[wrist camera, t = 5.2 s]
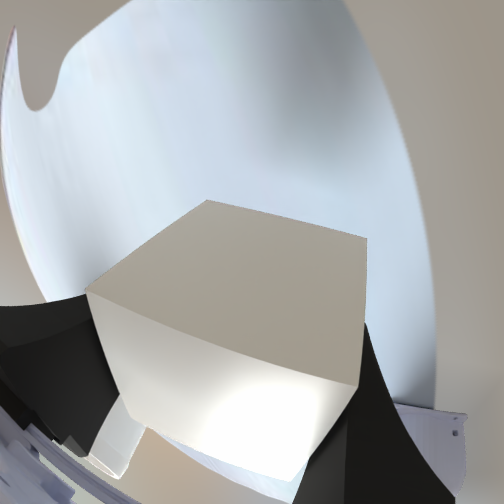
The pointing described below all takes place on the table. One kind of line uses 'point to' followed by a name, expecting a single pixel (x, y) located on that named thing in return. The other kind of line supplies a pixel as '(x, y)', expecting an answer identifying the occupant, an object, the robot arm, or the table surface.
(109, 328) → the white cubic block
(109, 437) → the foam cup
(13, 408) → the robot arm
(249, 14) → the table surface
